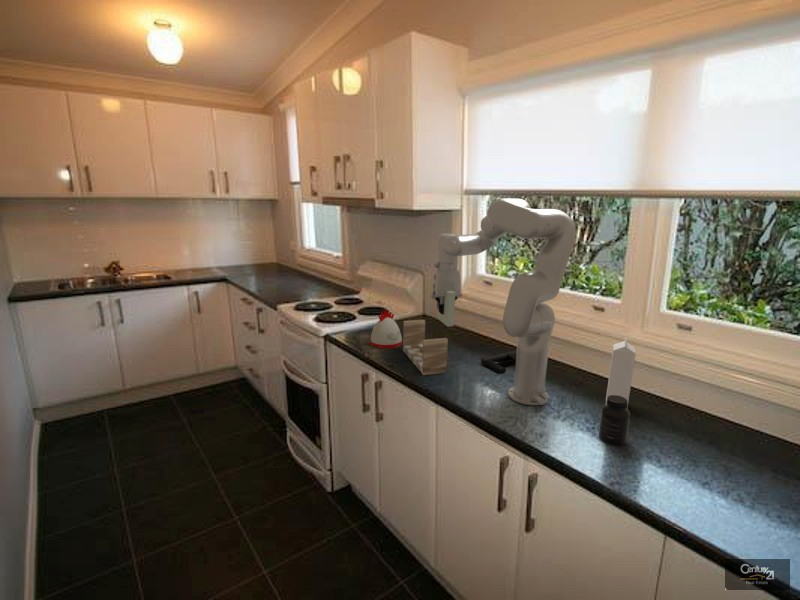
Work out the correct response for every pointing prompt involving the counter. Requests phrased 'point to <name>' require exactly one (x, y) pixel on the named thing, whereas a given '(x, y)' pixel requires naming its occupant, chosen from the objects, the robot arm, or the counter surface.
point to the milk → (621, 370)
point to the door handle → (493, 361)
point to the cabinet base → (424, 348)
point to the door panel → (447, 309)
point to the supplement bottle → (614, 421)
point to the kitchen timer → (386, 332)
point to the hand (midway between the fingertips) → (445, 312)
